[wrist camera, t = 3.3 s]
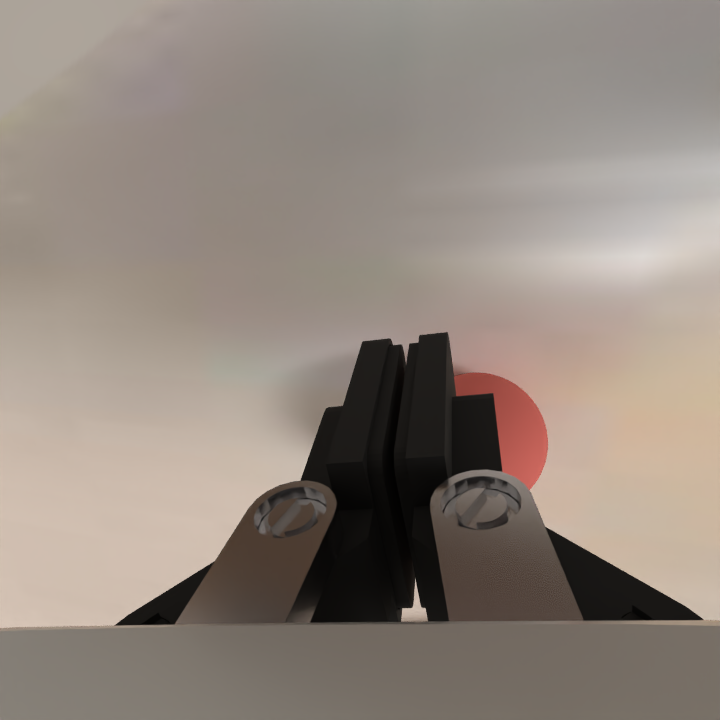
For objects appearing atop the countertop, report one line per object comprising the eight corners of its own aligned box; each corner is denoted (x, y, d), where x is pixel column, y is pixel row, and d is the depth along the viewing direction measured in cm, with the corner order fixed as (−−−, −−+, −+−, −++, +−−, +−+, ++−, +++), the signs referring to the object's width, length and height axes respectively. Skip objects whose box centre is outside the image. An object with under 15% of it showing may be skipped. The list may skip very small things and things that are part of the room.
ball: (404, 355, 28) (390, 427, 23) (536, 343, 27) (553, 416, 22) (422, 458, 31) (413, 543, 26) (542, 451, 30) (559, 539, 24)
